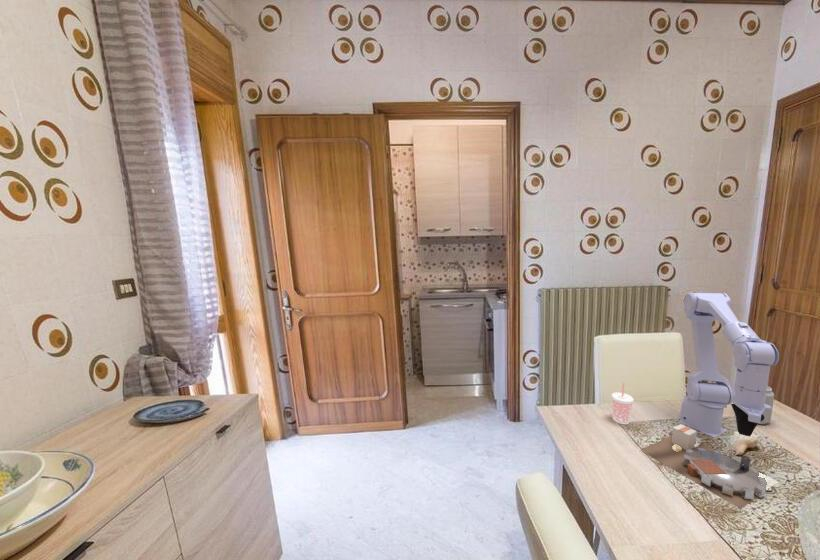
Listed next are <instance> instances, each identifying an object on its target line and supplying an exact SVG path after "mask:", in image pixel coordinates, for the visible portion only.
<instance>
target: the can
mask: <svg viewBox="0 0 820 560" xmlns="http://www.w3.org/2000/svg"><path fill="white" fill-rule="evenodd" d="M774 401H775V393H774V392H773V388H772V387H770V386H767V392H766V399H765V404H767V405H769V406H770V407H771V410H770V411H769V410H765V411H764V412H763V413H762V414H763V415H764V417H765V418H764V420H763V421H761V422H760V423H762V424H761V425H765V423H766V424H770V423H771V419H772V412H773V408H774V407H773V406H774Z"/></svg>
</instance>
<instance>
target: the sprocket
mask: <svg viewBox="0 0 820 560" xmlns="http://www.w3.org/2000/svg"><path fill="white" fill-rule="evenodd" d="M715 450H716V449H714V450H713V452H710V451H706V450H705V449H704V448H696V451H693V450H691V449H689V450H687V451H686V455H684V458H683V463H684V465H686V466H688V467H687V471H688V472H689V473H690V474H691V475H692V476H698V477H699V478H701V482H702V483H703V484H705V485H707V486H709V487H711V486H714V487H716V488H719V489H721V490H722V493H724V494H727V495H730V496H733V493H734V494H739V495H741V496H742V497H743V498H744V499H753V497H754V494H755V495H756V496H758V497H757V498H763V497H765V495H766V492H765V490H766V485H767V482H766V480H765V478H761V477H758V476H759V472H758V471H759V470H758V471H757V469H756V468H754V467H753V466H750V465H751V458H750V457H749V456H746V455H741V456H740V458H738V457H735V456H732V457H731V456H729V455H727V456H725V455H726V454H725V455H723V454H724V453H723V452H722V451H718V450H716V451H715ZM728 456H729V457H728ZM730 457H731V458H730Z"/></svg>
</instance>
